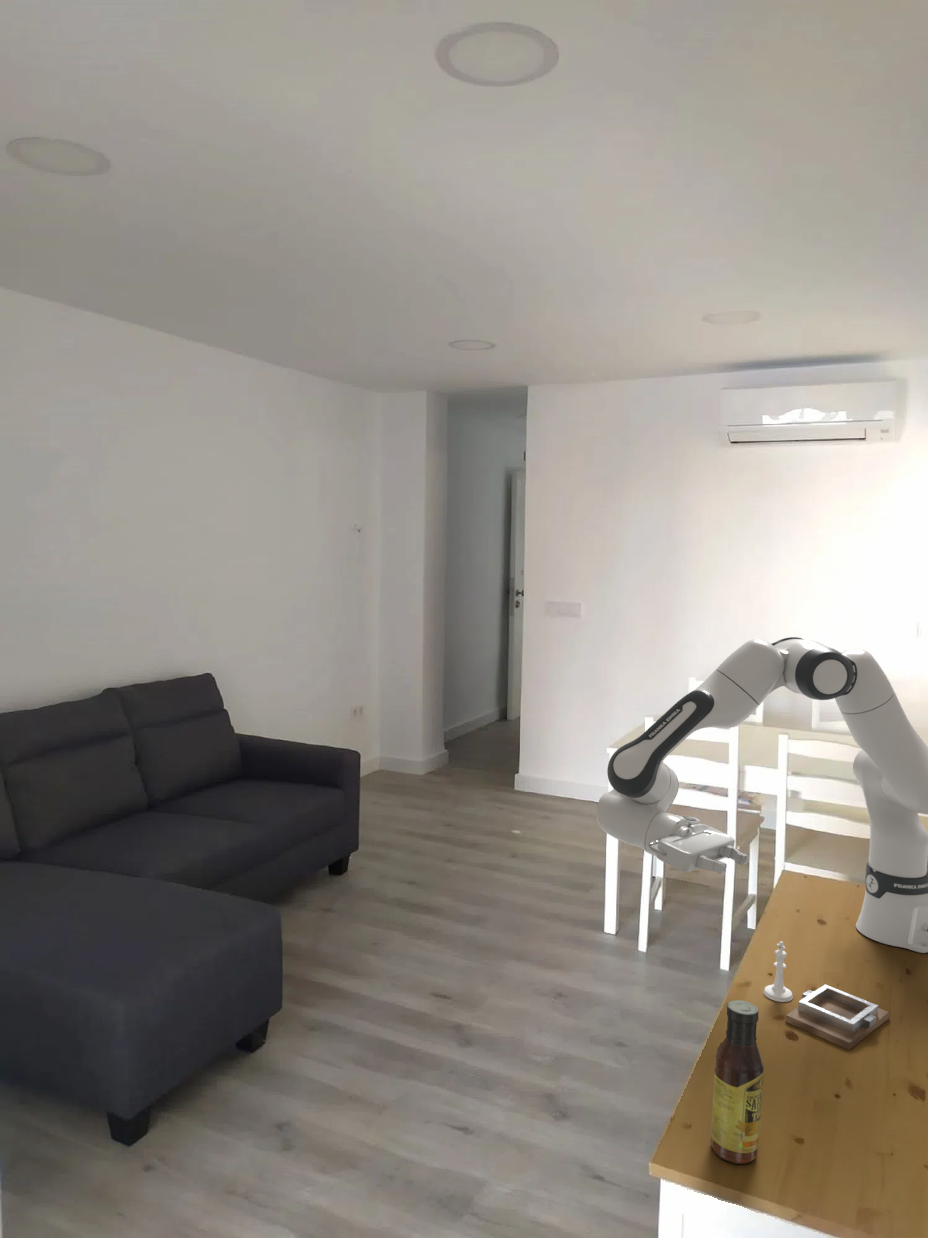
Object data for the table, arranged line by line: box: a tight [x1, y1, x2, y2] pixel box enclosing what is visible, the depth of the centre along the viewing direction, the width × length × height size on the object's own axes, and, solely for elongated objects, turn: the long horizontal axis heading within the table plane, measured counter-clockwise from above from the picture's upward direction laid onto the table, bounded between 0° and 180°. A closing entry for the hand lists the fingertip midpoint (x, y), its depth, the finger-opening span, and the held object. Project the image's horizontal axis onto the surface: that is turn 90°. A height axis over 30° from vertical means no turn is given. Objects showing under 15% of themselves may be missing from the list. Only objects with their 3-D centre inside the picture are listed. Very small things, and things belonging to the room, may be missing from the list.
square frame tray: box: [797, 983, 879, 1035], centre depth 153 cm, size 12×10×2 cm
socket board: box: [785, 998, 890, 1050], centre depth 153 cm, size 11×15×1 cm
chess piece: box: [763, 940, 793, 1003], centre depth 161 cm, size 5×5×10 cm
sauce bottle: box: [710, 999, 765, 1165], centre depth 119 cm, size 6×6×20 cm
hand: (735, 865), depth 166 cm, fingers open, 8 cm apart
